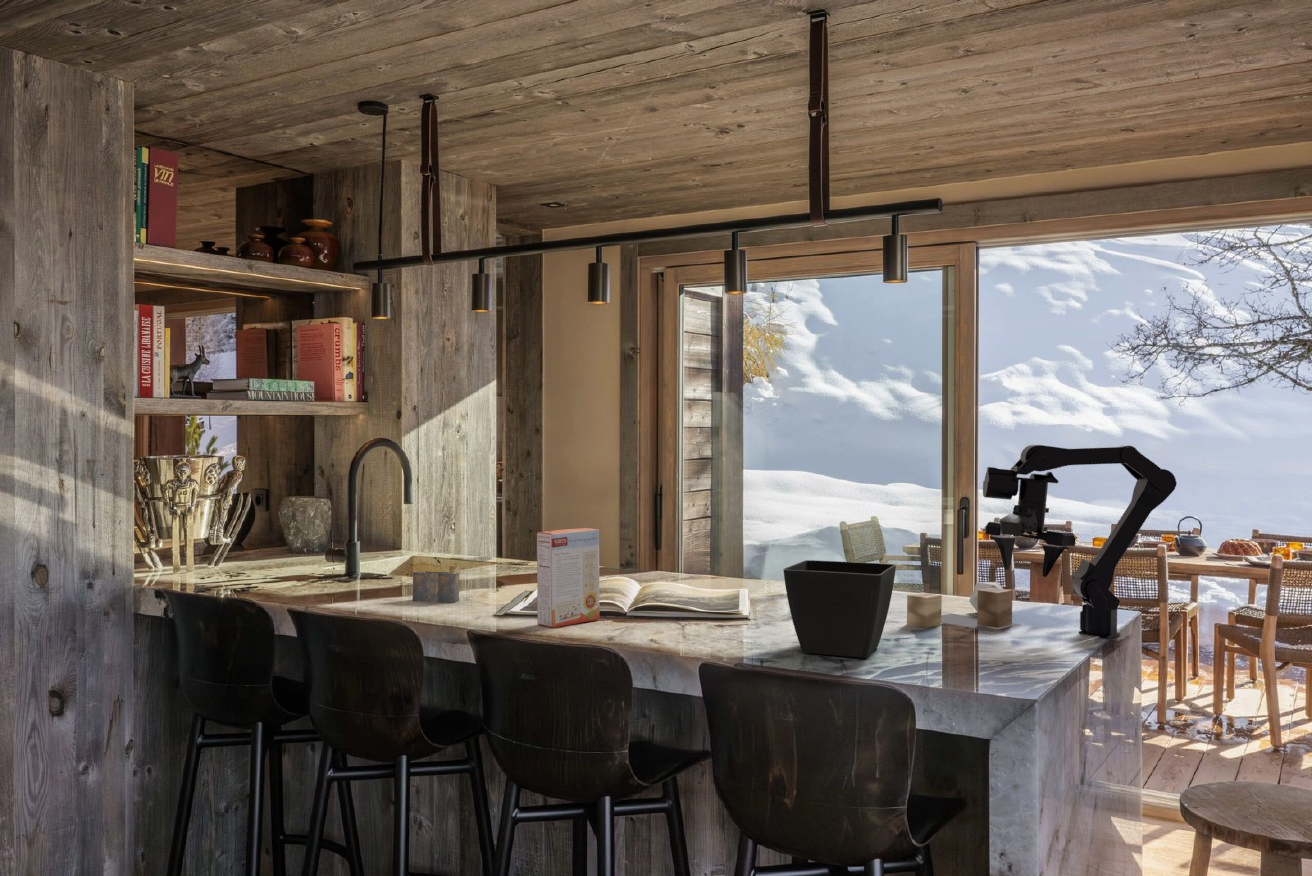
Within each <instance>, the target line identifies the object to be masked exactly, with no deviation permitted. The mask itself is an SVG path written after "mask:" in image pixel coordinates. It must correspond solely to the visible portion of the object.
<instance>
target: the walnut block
mask: <svg viewBox="0 0 1312 876" xmlns="http://www.w3.org/2000/svg"><path fill="white" fill-rule="evenodd" d="M976 618H977V626H981V627H987V628H993V629H1001V628H1005V627H1010V626H1012V623H1013V589H1005V588H1003V589H999V588H987V589H981V590H978V612H977V617H976ZM1010 628H1011V627H1010ZM1001 630H1002V629H1001Z"/></svg>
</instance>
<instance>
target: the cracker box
mask: <svg viewBox="0 0 1312 876" xmlns="http://www.w3.org/2000/svg"><path fill="white" fill-rule="evenodd" d="M536 565H537V566H536V572H537V573H536V574H537V577H536V578H537V579H536V582H537V585H536V586H537V587H536V588H537V590H536V591H537V592H536V593H537V602H536V603H537V606H536V607H537V625H538V626H543V627H548V628H552V629H553V628H558V627H564V626H570V625H575V624H580V623H581V624H582V623H588V622H595V621H597V620H598V621H599V620H600V613H601V612H600V529H597V528H590V527H580V528H567V529H554V530H545V531H537V532H536Z"/></svg>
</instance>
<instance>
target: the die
mask: <svg viewBox="0 0 1312 876" xmlns="http://www.w3.org/2000/svg"><path fill="white" fill-rule="evenodd" d="M987 588H999V589H1004V588H1003V587H1002V585H1001V584H1000V583H999V582H998V581H977V582H976V583H975V586H974V589H973V591H972V592H971V595H970V598H969V599H968V600H969V601H968V602H969V603H970V605H971V606H972V607H973V608H974V610H975V611H976V613H978V590H981V589H987Z"/></svg>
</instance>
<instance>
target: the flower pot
mask: <svg viewBox="0 0 1312 876" xmlns="http://www.w3.org/2000/svg"><path fill="white" fill-rule="evenodd" d="M896 568H897V565H896V564H894V563H893V564H891V563H874V562H856V561H835V560H834V561H833V560H813V559H812V560H810V559H807V560H803V561H800V562H797V563H795V564H792V565H789V566H788V567H787V566H786V567H785V568H783V577H784V579H783V580H784V586H785V591H786V597H787V602H788V603H787V604H788V607H789V612H790V617H791V620H792V623H793V627H794V630H795V635H796V636H797V637H796V638H797V640H798V644H799V646H800V649H801V652H802V653H807V654H815V655H816V654H817V655H825V656H827V655H828V656H836V657H837V656H838V657H849V658H862V659H863V658H868V657H869V655H871V654H872V653H873V652H874V651H875V650H876V649H877V648H878V646H879V644H880V641H881V638H882V634H883V633H884V628H885V624H886V620H887V617H888V613H889V608H890V604H891V600H892V594H893V588H894V585H895V584H894V583H895V576H896Z"/></svg>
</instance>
